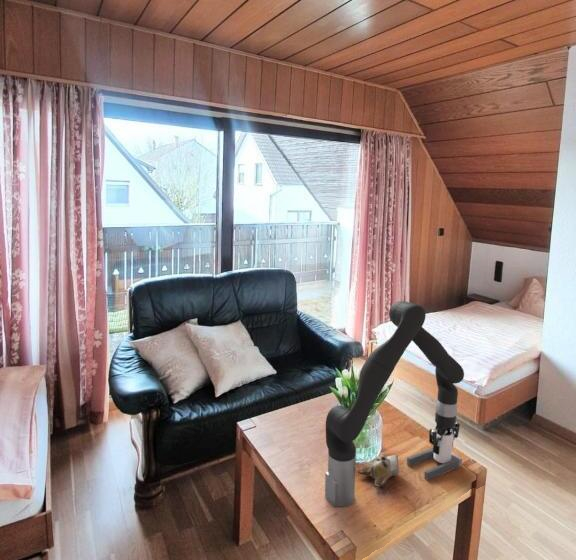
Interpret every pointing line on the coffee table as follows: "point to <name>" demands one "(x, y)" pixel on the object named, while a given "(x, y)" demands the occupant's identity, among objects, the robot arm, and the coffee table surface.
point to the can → (444, 449)
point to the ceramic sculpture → (382, 469)
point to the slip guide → (438, 470)
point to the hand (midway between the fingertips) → (442, 450)
